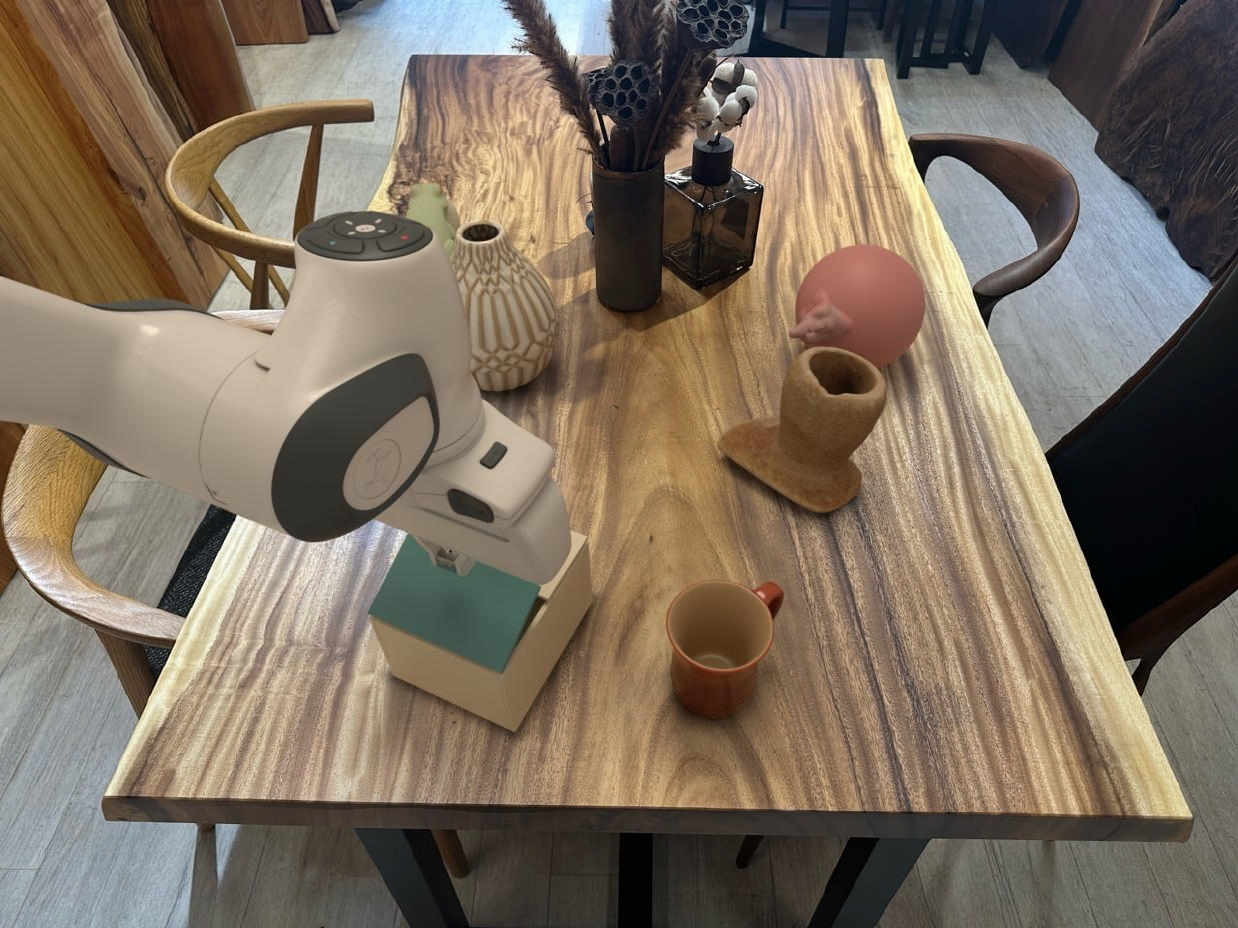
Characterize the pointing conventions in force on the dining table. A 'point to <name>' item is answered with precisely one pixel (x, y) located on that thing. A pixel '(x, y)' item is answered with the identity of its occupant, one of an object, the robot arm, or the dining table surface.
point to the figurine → (434, 213)
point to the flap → (455, 605)
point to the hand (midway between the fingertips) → (454, 564)
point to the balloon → (861, 304)
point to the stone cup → (813, 429)
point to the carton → (529, 660)
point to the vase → (503, 307)
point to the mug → (719, 643)
